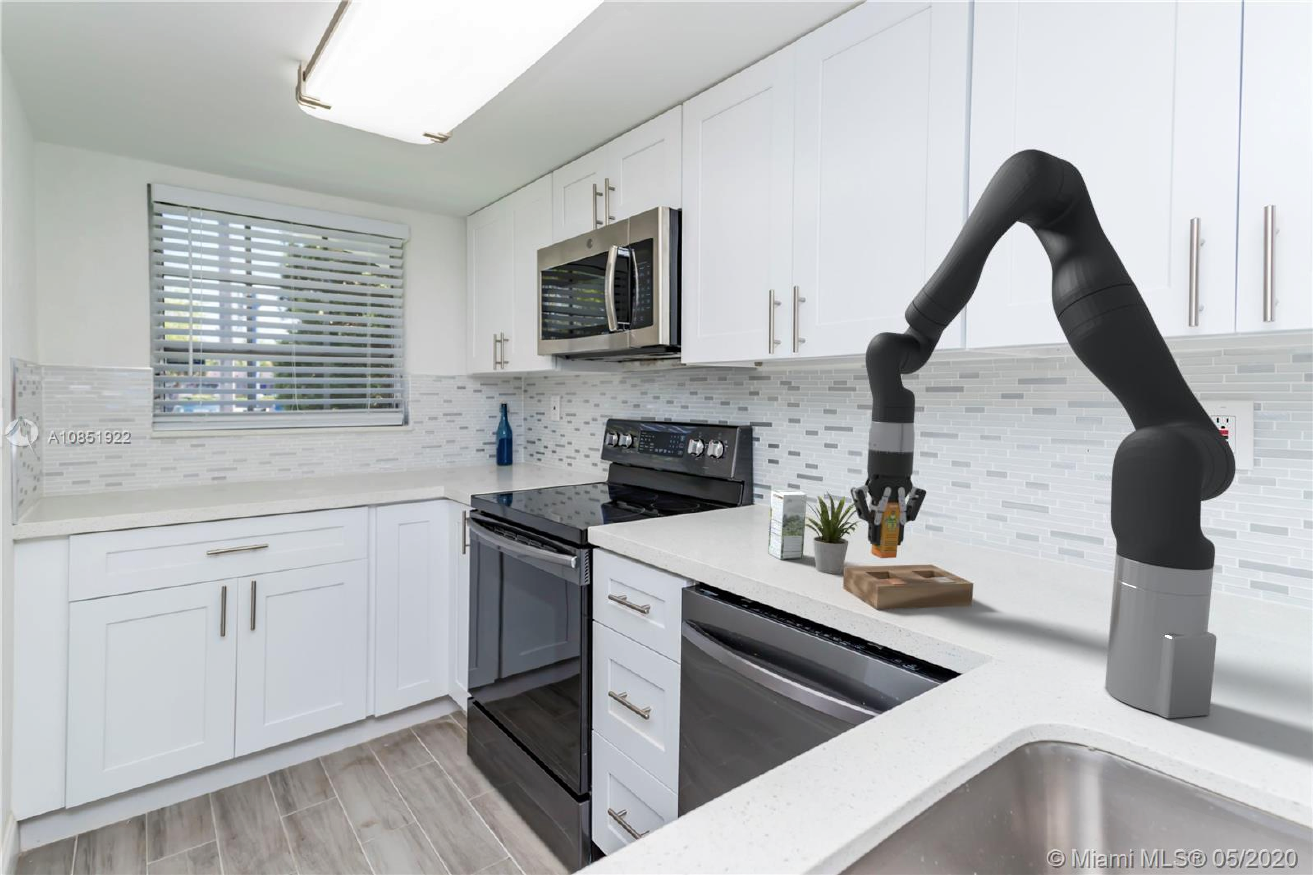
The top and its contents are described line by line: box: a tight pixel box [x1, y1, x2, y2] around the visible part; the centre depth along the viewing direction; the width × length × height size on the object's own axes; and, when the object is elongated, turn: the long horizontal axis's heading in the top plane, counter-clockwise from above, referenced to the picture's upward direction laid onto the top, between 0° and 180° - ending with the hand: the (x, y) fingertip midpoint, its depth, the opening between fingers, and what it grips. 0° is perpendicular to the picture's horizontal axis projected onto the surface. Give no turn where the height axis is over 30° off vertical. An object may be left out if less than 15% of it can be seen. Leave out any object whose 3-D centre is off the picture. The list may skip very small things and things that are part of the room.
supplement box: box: [870, 502, 900, 559], centre depth 114 cm, size 3×3×10 cm
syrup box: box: [767, 489, 807, 561], centre depth 142 cm, size 6×6×14 cm
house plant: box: [800, 491, 861, 574], centre depth 131 cm, size 14×14×16 cm
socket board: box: [842, 564, 974, 611], centre depth 116 cm, size 12×18×4 cm, turn 101°
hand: (885, 544), depth 115 cm, fingers closed on supplement box, 3 cm apart
